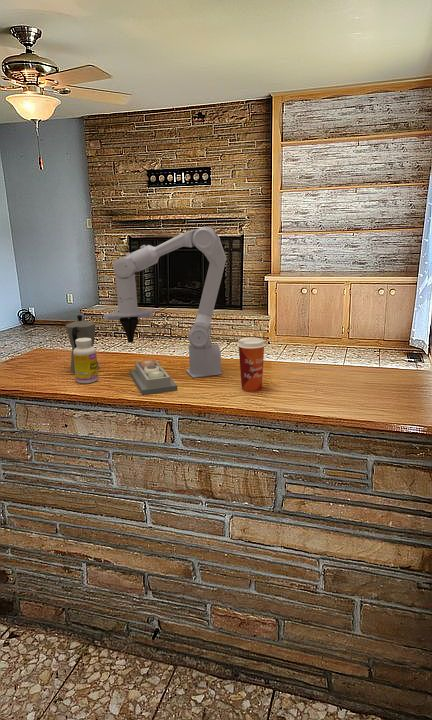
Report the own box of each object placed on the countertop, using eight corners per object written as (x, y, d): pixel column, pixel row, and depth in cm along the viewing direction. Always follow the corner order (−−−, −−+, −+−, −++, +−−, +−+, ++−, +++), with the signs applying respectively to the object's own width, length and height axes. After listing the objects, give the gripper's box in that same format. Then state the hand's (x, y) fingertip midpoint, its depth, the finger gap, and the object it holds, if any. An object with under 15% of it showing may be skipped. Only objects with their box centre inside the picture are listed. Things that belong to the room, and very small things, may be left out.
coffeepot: (75, 364, 173) (69, 311, 168) (103, 363, 173) (98, 310, 168) (63, 378, 158) (56, 321, 153) (93, 377, 158) (88, 320, 153)
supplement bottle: (93, 384, 152) (88, 342, 148) (72, 383, 153) (67, 342, 149) (102, 377, 158) (98, 337, 154) (82, 376, 159) (78, 336, 156)
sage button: (162, 380, 149) (161, 369, 148) (165, 384, 145) (165, 373, 144) (147, 381, 148) (146, 371, 147) (150, 386, 144) (149, 375, 143)
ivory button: (157, 374, 154) (157, 364, 154) (161, 378, 150) (160, 368, 150) (143, 376, 153) (142, 365, 152) (146, 380, 149) (145, 369, 148)
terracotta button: (153, 368, 160) (153, 358, 159) (156, 372, 156) (156, 362, 155) (139, 370, 159) (138, 360, 158) (142, 374, 155) (141, 364, 154)
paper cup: (247, 394, 140) (246, 345, 136) (233, 386, 146) (232, 339, 142) (271, 389, 143) (271, 341, 139) (256, 382, 150) (256, 335, 146)
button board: (161, 370, 163) (160, 358, 162) (177, 390, 145) (176, 377, 144) (129, 374, 160) (129, 362, 159) (142, 395, 142) (141, 381, 140)
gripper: (148, 294, 160) (151, 336, 164) (101, 297, 155) (104, 341, 159) (153, 297, 153) (155, 341, 157) (103, 301, 149) (107, 346, 153)
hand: (130, 341), depth 158 cm, fingers closed
